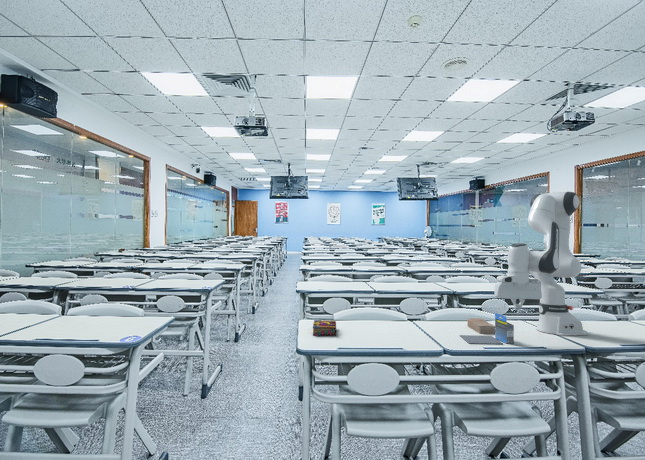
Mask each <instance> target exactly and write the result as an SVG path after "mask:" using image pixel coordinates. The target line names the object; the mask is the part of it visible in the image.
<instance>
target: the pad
mask: <svg viewBox="0 0 645 460" xmlns="http://www.w3.org/2000/svg"><path fill="white" fill-rule="evenodd" d="M459 337H460V338H461V339H462V340H463V341H465V342H466V343H467V344H470V345H504V342H502V341H499V340H497V339H495V336H492V335H473V334H472V335H471V334H470V335H469V334H461V335H459Z"/></svg>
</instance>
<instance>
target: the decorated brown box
mask: <svg viewBox="0 0 645 460" xmlns="http://www.w3.org/2000/svg"><path fill="white" fill-rule="evenodd" d="M312 325H313V326H312V329H313V330H312V337H313V336H314V337H318V336H336V335H337V321H336V320H321V319H314V321H313V323H312Z"/></svg>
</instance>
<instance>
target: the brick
mask: <svg viewBox="0 0 645 460" xmlns="http://www.w3.org/2000/svg"><path fill="white" fill-rule="evenodd" d="M467 327H468V328H470V329H471V330H473V331H475V332H476V333H479V334H481V335H495V325H494V324H492V323H489V322H488V321H486V320H485V319H484V318H482V317H481V318H479V317H477V318H476V317H475V318H472V317H471V318H467Z"/></svg>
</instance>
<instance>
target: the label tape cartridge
mask: <svg viewBox="0 0 645 460" xmlns="http://www.w3.org/2000/svg"><path fill="white" fill-rule="evenodd" d="M494 321H495V322H494V324H495V325H494V326H495V334H494V335H495V336H494V338H495V339H497V340H499V341H500V342H502V343H503V344H504V343H505V344H506V345H507V344H509V345H512V344H514V342H515V338H514V335H515V332H514V331H515V330H514V329H515V328H514V327H515V326H514V324H512V323H509V322H508V321H507V316H506V315H503V314H499V313H497V312H494Z"/></svg>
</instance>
